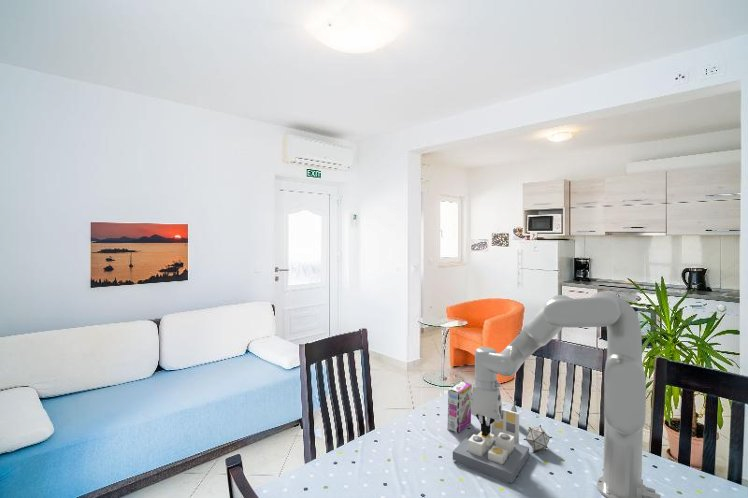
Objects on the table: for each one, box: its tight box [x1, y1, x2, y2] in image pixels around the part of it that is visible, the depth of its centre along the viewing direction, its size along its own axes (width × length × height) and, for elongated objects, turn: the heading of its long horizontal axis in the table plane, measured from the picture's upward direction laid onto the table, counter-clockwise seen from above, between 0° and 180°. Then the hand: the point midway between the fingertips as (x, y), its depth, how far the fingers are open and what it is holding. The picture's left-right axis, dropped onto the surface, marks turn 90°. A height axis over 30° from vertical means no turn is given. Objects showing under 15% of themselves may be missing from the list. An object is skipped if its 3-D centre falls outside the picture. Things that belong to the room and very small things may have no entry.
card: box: [490, 408, 520, 444], centre depth 142 cm, size 10×3×12 cm, turn 53°
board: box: [452, 429, 530, 484], centre depth 131 cm, size 20×18×4 cm
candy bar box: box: [447, 381, 473, 434], centre depth 152 cm, size 11×5×16 cm, turn 139°
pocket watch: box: [510, 400, 518, 413], centre depth 154 cm, size 8×8×10 cm
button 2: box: [478, 430, 494, 448], centre depth 135 cm, size 5×5×5 cm
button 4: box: [488, 446, 508, 465], centre depth 126 cm, size 5×5×5 cm
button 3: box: [496, 432, 514, 455], centre depth 131 cm, size 5×5×5 cm
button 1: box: [468, 434, 487, 457], centre depth 130 cm, size 5×5×5 cm
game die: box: [523, 424, 553, 454], centre depth 136 cm, size 9×8×10 cm
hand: (485, 434), depth 135 cm, fingers closed
